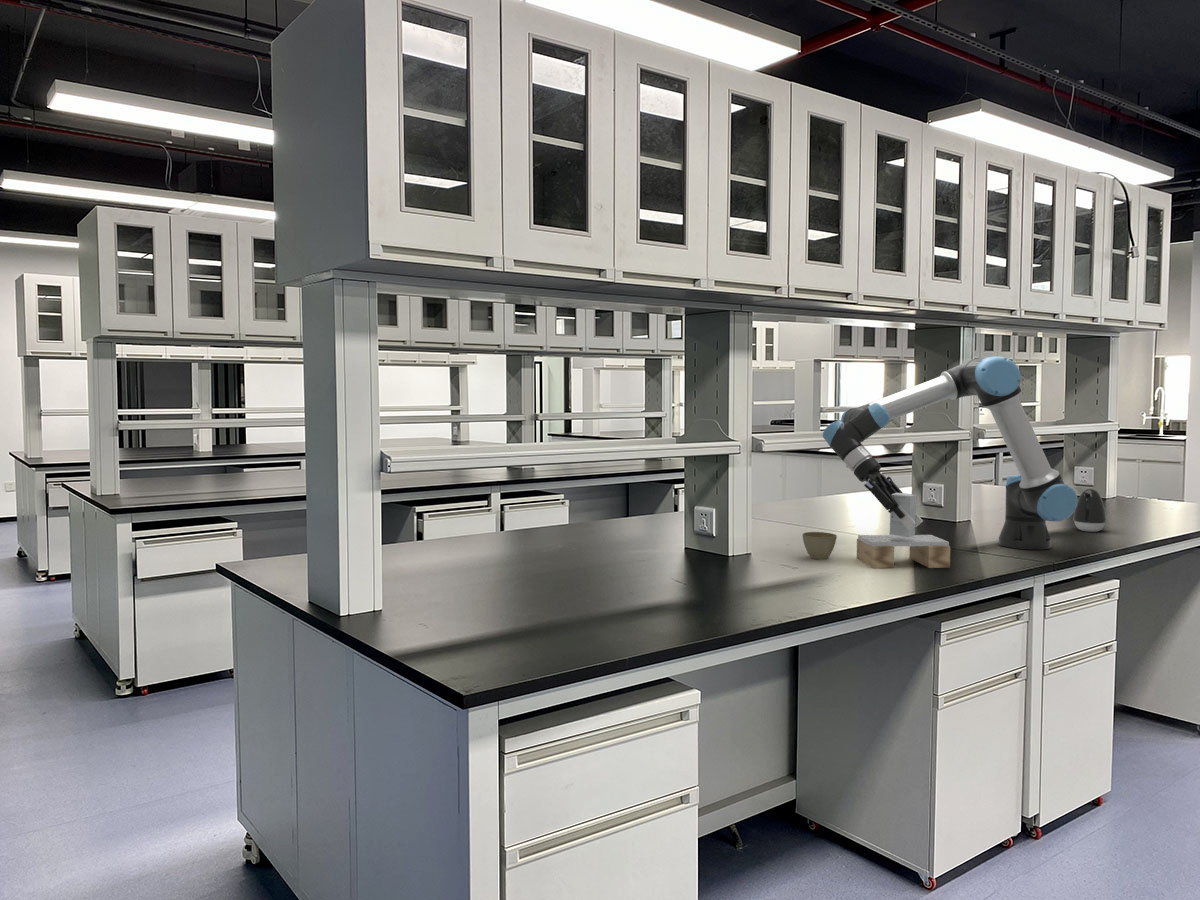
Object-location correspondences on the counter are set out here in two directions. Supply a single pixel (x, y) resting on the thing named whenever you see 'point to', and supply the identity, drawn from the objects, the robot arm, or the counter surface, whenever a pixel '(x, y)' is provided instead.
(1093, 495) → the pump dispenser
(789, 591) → the counter surface
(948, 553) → the oak blocks
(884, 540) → the bridge plate
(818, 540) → the flower pot
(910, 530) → the skincare box
